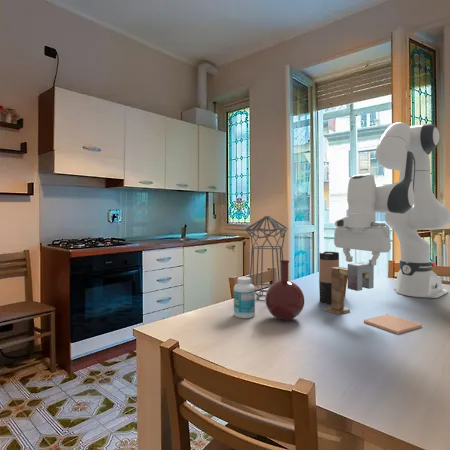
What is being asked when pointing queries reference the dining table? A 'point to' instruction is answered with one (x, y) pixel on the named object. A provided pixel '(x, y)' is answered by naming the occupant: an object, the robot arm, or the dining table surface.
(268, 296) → the round-bottom flask
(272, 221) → the geometric lantern
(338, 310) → the stand
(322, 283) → the travel mug
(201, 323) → the dining table surface
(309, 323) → the dining table surface
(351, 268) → the brushed grey metal block
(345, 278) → the disposable coffee cup
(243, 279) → the pill bottle
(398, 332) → the tile
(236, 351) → the dining table surface
